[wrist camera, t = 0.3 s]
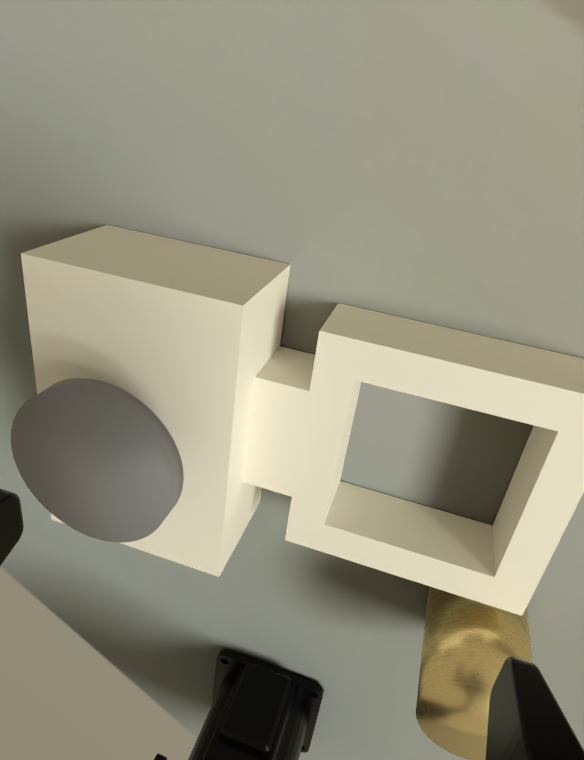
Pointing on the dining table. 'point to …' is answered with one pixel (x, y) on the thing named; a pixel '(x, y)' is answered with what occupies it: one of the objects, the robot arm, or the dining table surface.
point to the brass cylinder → (464, 668)
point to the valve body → (269, 416)
